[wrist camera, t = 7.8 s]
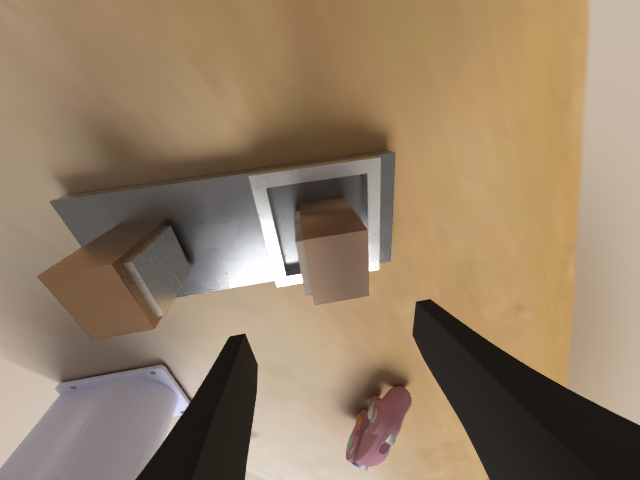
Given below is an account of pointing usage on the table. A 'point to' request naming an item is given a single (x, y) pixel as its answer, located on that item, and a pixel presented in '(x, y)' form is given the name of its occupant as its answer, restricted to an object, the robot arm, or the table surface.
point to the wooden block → (332, 250)
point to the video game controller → (378, 428)
